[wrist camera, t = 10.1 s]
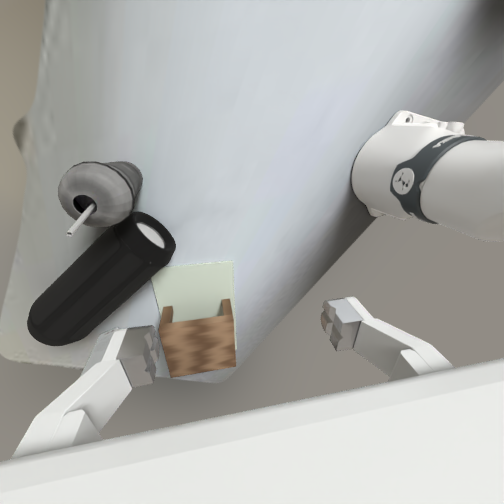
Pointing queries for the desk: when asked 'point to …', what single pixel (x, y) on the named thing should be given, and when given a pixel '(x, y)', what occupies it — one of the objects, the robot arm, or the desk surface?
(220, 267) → the mat
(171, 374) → the stool
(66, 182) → the beverage cup
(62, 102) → the desk surface
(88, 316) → the portable speaker
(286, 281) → the desk surface
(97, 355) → the skincare box
